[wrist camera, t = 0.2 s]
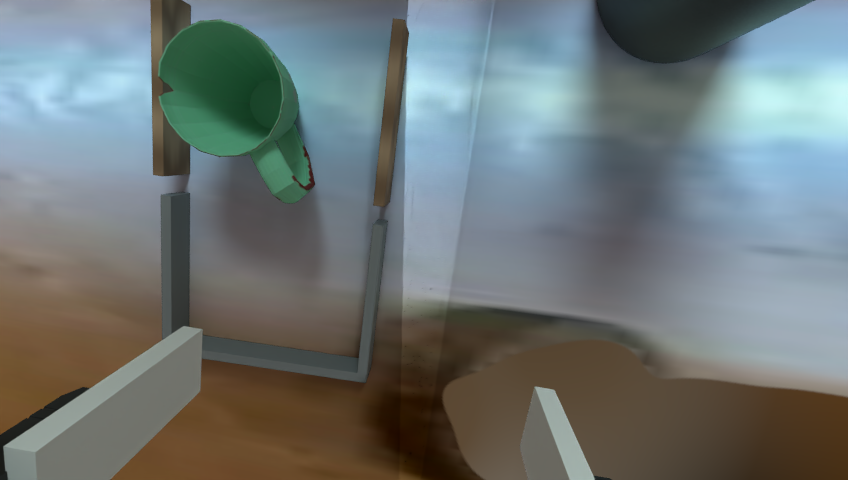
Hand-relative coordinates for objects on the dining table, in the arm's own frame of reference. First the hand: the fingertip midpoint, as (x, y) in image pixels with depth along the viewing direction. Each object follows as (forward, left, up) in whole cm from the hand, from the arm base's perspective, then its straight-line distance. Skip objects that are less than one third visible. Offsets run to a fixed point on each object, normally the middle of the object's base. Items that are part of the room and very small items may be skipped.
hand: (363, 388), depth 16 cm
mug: (-10, -14, -27) cm, 32 cm away
